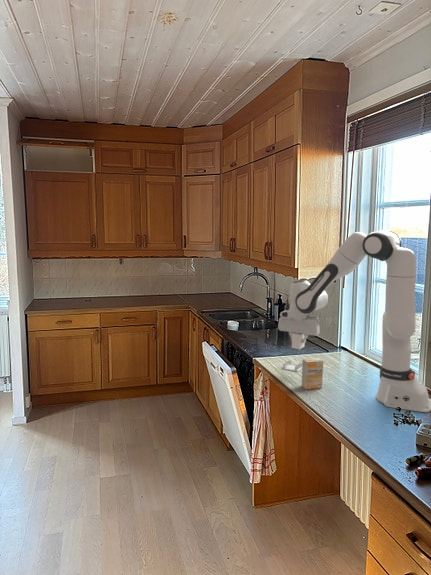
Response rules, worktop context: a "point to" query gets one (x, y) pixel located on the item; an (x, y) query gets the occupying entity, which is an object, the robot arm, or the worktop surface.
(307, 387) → the supplement box
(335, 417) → the worktop surface
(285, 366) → the rail plate
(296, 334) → the block
